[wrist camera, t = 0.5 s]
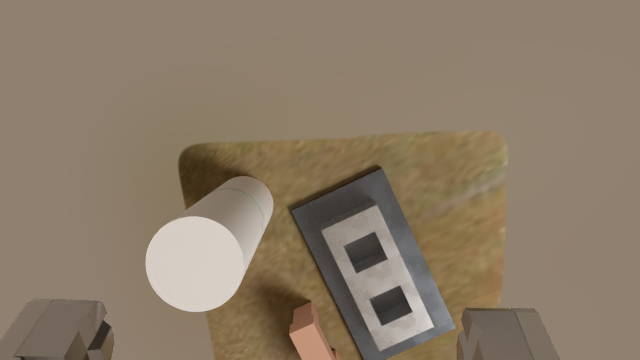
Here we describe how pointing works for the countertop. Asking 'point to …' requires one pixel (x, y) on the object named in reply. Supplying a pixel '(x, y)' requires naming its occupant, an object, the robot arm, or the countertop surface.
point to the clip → (310, 335)
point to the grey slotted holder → (373, 267)
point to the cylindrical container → (209, 245)
